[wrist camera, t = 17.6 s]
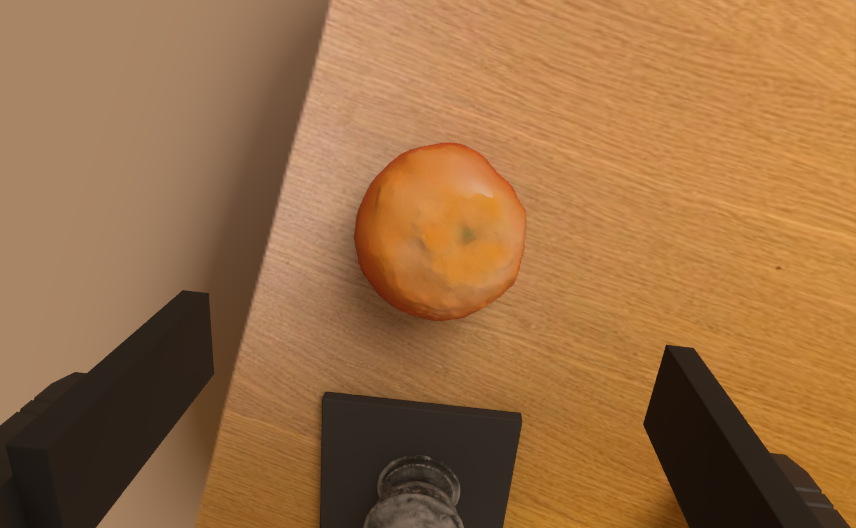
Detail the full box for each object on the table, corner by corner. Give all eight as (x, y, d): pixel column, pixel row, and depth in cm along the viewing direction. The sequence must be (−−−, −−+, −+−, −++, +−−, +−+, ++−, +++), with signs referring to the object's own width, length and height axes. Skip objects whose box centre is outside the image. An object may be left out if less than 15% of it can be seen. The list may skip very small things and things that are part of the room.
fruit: (300, 212, 28) (337, 210, 21) (418, 129, 30) (490, 101, 23) (387, 333, 31) (448, 370, 23) (492, 249, 33) (578, 257, 25)
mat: (322, 536, 38) (319, 545, 38) (325, 390, 34) (322, 398, 33) (495, 556, 38) (495, 566, 37) (521, 412, 34) (522, 420, 33)
